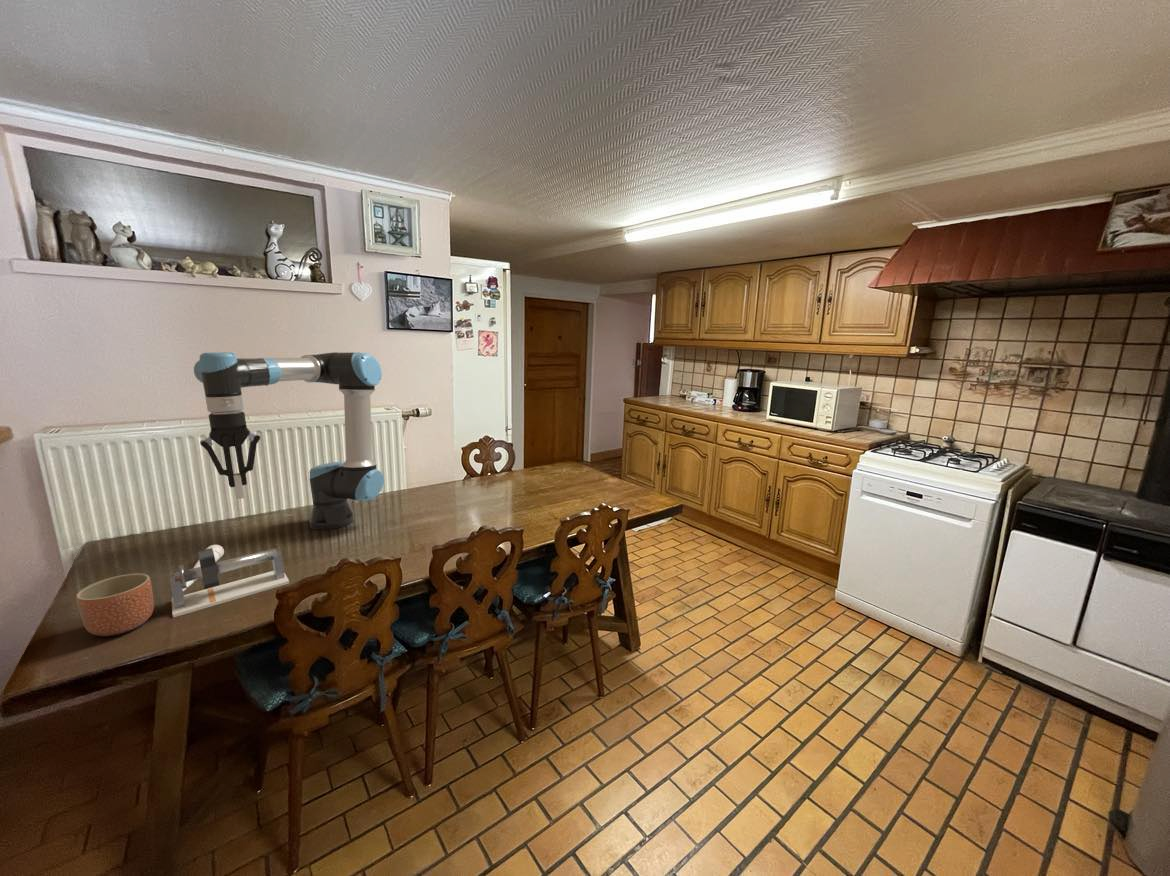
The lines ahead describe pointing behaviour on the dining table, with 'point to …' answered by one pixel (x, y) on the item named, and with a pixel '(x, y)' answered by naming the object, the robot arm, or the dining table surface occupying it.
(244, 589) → the board
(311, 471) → the robot arm
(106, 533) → the dining table surface
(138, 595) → the planter
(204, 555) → the collar
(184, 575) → the linear slide rail
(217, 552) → the unicorn horn
